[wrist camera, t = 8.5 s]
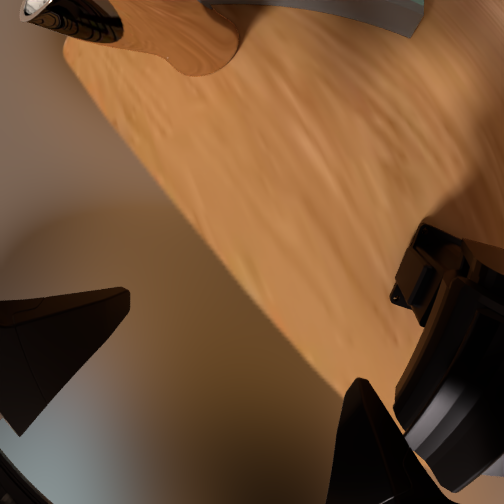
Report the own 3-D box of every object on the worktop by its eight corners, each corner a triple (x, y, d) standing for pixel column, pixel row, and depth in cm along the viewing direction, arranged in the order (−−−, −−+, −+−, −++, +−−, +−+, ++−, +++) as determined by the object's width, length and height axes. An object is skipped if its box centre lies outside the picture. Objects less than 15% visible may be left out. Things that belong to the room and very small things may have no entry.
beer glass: (176, 18, 16) (51, -50, 2) (251, 11, 15) (151, -109, 1) (160, 84, 19) (2, 46, 5) (237, 82, 17) (83, -15, 3)
